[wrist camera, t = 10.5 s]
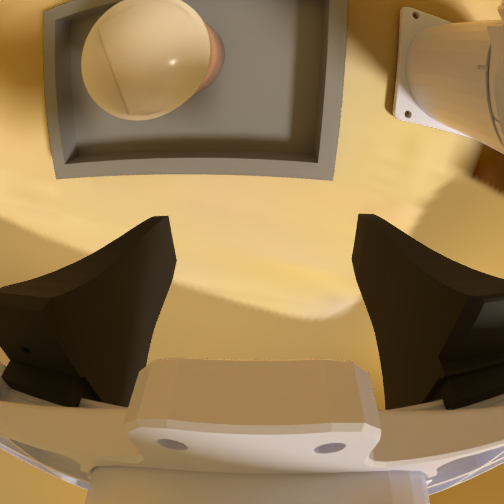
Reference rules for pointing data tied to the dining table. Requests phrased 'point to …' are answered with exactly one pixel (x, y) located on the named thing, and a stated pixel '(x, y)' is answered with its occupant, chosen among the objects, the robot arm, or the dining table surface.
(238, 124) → the serving tray
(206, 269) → the dining table surface
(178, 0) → the cup
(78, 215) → the dining table surface
